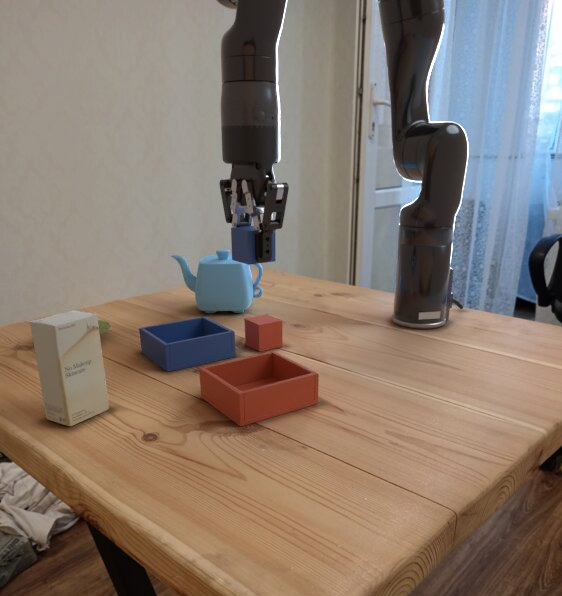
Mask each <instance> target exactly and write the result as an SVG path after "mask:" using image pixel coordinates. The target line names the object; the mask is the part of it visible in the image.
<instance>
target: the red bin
mask: <svg viewBox="0 0 562 596" xmlns="http://www.w3.org/2000/svg"><path fill="white" fill-rule="evenodd" d="M198 372H199V386H200V398H201V399H203V400H204V401H205V402H207V403H208V404H209V405H210V406H212V407H214V408H215V409H216V410H217V411H219V412H220V413H222V414H223V415H224V416H226V417H227V418H228V419H229V420H231V421H232V422H234V423H235V424H236V425H237V426H239V427H244V426H248V425H251V424H255V423H257V422H261V421H264V420H267V419H271V418H275V417H278V416H281V415H284V414H288V413H291V412H294V411H295V412H296V411H298V410H301V409H305V408H309V407H311V406H315V405H319V377H320V376H319V375H320V374H319V372H317V371H315V370H313V369H311V368H309V367H307V366H305V365H303V364H301V363H299V362H297V361H295V360H293V359H291V358H288V357H286V356H284V355H282V354H281V353H279V352H277V351H275V350H271V351H267V352H266V351H265V352H263V353H258V354H254V355H249V356H244V357H240V358H236V359H232V360H231V359H230V360H227V361H224V362H219V363H214V364H210V365H209V364H208V365H204V366H200V367H199V368H198Z"/></svg>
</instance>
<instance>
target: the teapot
mask: <svg viewBox="0 0 562 596" xmlns="http://www.w3.org/2000/svg"><path fill="white" fill-rule="evenodd" d="M215 253H216V254H207V255H205V256H203V257H201V258H200V260H199V262H198V266H197V271H196V276H195V275H194V274H193V273H192V271H191V269H190V266H189V264H188V261H187V259H186V258H185V257H184V256H181V255H176V254H169V256H170V257H171V258H173V259H174V260H175V261H176V262H177V263H178V264H179V267H180V269H181V273H182V277H183V281H184V283H185V286H186V287H187V288H188V289H189V290H190V291H191V292H193V293H194V298H195V303H196V305H197V308H198V309H199V311H202V312H204V313H205V314H214V313H216V312H232V313H234V314H241V313H244V312H245V311H246V310H248V309H249V308H250V307H251V305H252V303H253V300H254V298H255V299H257V298H258V299H259V298H261V297H262V296H263V294H264V290H263V288H262V287H261V286H259V284H260V282H261V280H262V277H263V276H264V275H263V274H264V267H263V266H262V263H258V264H251V265H252V266H255V267H257V268H258V273H257V276H256V278H255V280H254V279H253V274H252V270H251V267H250V265H248V264H244V263H241V262H238V261H234V260H232V254H231V250H230V249H225V248H224V249H217V250H216V251H215ZM256 290H257V291H259V292H258V293H257V292H256Z"/></svg>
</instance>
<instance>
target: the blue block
mask: <svg viewBox="0 0 562 596" xmlns="http://www.w3.org/2000/svg"><path fill="white" fill-rule="evenodd" d="M255 234H256V232H255V229H254V225H251V226H245V227H231V228H230V235H231V236H230V240H231V241H230V243H231V255H232V260H234V261H238V262H241V263H244V264H248V265H249V266H250V265H252V264H258V263H260V264H266V263H272V262H276V261H277V260H276V230H275V231H274V232H272V258H271V260H270V261H268V262H257V261H256V259H255Z"/></svg>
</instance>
